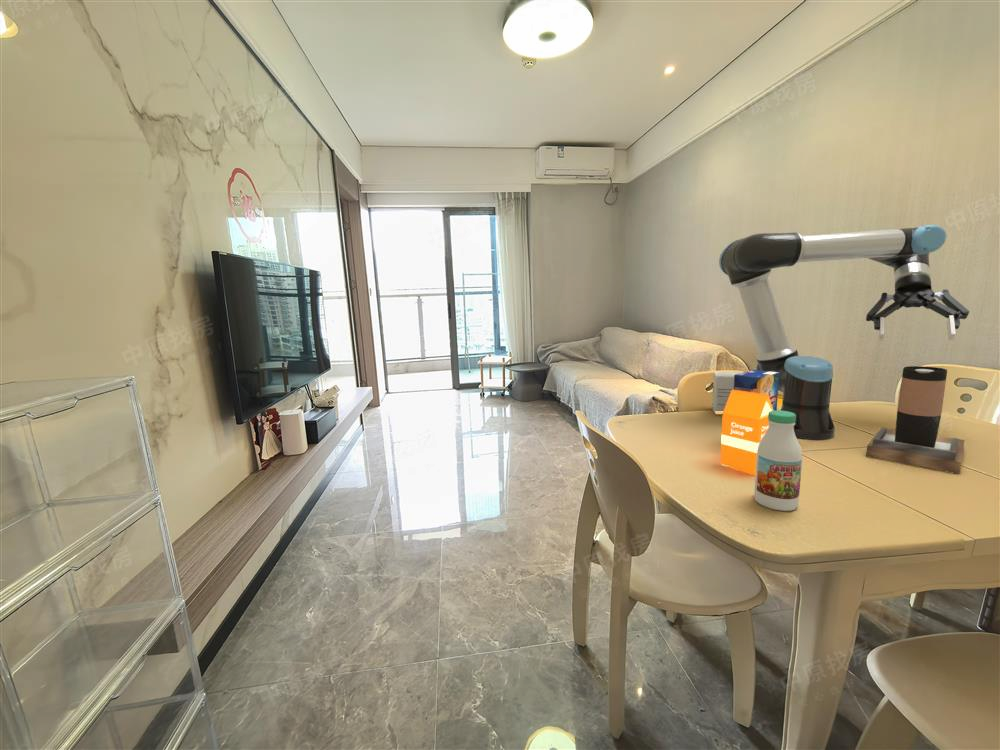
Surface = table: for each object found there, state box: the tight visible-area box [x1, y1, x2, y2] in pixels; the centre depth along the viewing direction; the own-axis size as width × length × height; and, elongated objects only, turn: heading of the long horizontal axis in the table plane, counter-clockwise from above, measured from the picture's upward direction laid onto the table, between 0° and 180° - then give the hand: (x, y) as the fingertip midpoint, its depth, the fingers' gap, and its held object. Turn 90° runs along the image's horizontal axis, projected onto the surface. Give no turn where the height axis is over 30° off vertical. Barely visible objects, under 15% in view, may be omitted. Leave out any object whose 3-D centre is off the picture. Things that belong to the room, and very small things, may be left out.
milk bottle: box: [753, 409, 803, 512], centre depth 81 cm, size 8×8×20 cm
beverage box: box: [734, 369, 780, 411], centre depth 110 cm, size 7×11×22 cm, turn 123°
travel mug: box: [895, 365, 948, 448], centre depth 98 cm, size 8×8×20 cm
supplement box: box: [712, 371, 741, 412], centre depth 145 cm, size 9×9×15 cm
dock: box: [865, 426, 966, 475], centre depth 103 cm, size 16×23×5 cm
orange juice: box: [719, 390, 773, 476], centre depth 99 cm, size 8×9×20 cm
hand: (915, 337), depth 108 cm, fingers open, 13 cm apart
